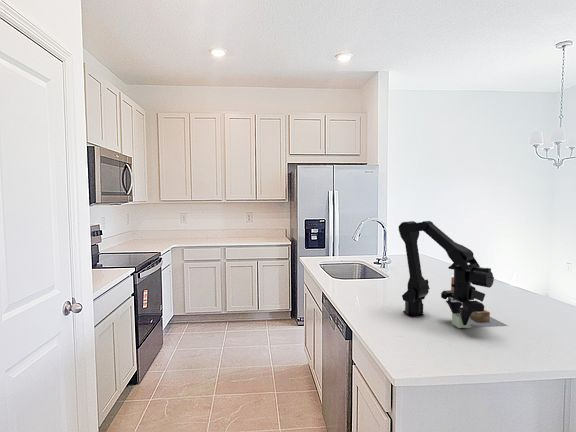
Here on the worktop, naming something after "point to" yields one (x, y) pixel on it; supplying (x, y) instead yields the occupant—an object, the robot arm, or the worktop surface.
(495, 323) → the slate mat
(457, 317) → the sage block
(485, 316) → the walnut block
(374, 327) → the worktop surface
